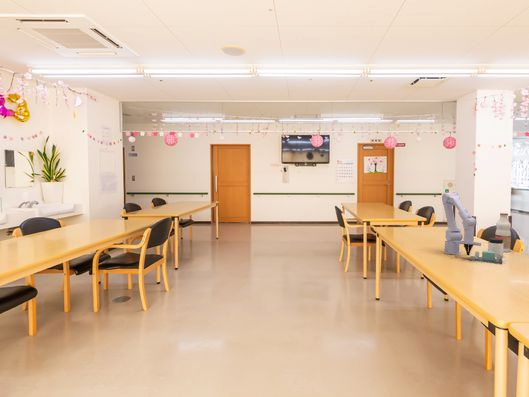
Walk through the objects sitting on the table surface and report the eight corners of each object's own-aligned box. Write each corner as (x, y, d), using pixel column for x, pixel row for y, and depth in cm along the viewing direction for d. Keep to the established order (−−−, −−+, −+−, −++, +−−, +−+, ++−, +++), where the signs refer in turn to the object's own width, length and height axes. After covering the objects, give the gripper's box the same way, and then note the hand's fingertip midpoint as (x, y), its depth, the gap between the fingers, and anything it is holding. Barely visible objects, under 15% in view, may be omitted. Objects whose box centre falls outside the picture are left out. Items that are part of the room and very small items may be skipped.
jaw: (474, 258, 228) (475, 253, 228) (475, 256, 235) (475, 251, 235) (478, 259, 227) (478, 253, 227) (479, 256, 234) (479, 251, 233)
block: (481, 259, 228) (482, 252, 227) (482, 258, 231) (482, 250, 231) (494, 260, 223) (494, 253, 223) (495, 259, 227) (495, 252, 227)
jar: (498, 257, 235) (499, 240, 234) (486, 255, 242) (486, 238, 241) (504, 256, 240) (505, 239, 239) (491, 253, 247) (492, 237, 246)
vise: (469, 260, 229) (469, 253, 229) (470, 257, 237) (470, 250, 237) (502, 264, 219) (502, 257, 219) (502, 260, 227) (502, 254, 227)
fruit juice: (507, 252, 249) (509, 214, 247) (492, 250, 256) (494, 213, 254) (511, 250, 255) (513, 213, 253) (497, 248, 262) (498, 212, 260)
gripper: (455, 235, 234) (455, 255, 235) (481, 237, 225) (480, 257, 226) (457, 233, 239) (456, 253, 240) (481, 235, 231) (481, 255, 232)
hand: (468, 255), depth 234 cm, fingers closed
